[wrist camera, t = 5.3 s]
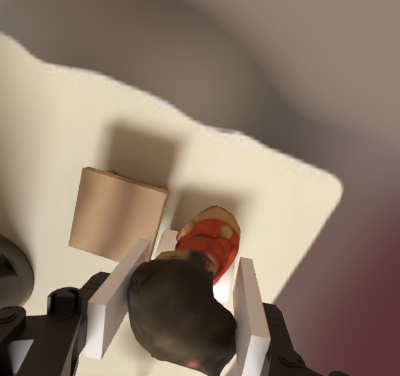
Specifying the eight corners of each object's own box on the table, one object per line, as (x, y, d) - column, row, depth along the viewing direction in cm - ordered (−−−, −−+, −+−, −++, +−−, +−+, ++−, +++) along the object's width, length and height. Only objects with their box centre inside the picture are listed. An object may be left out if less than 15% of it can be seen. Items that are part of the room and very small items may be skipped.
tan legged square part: (91, 229, 40) (68, 245, 34) (105, 163, 37) (82, 168, 31) (157, 250, 39) (145, 270, 33) (175, 184, 37) (166, 193, 31)
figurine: (252, 214, 21) (267, 310, 10) (235, 271, 23) (230, 416, 11) (181, 195, 22) (115, 263, 10) (169, 252, 23) (98, 369, 12)
